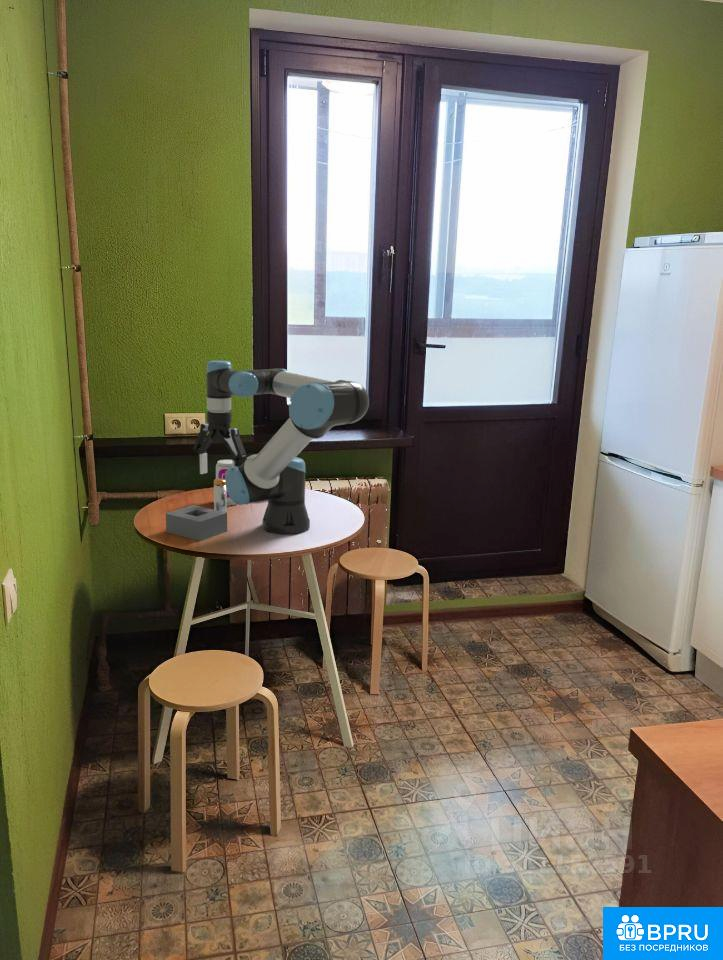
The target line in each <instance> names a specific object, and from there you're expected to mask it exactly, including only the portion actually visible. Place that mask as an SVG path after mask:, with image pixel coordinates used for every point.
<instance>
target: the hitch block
mask: <svg viewBox="0 0 723 960" xmlns="http://www.w3.org/2000/svg"><path fill="white" fill-rule="evenodd" d="M165 530H166V531H165V532H166V533H167V532H168V534H171V535H176V536H180V537H182V538H187V539H191V540H195V541H199V542H201V541H206V540H207V539H210V538H212V537H216V536H217V535H220V534H223V533H226V532H228V512H227V513H226V512H222V511H217V510H214V508H207V507H204V506H201V505H200V506H199V505H195V504H192V505H189V506H186V507H181V508H179V509H175V510H172V511H170V512H166V513H165Z"/></svg>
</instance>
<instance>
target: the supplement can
mask: <svg viewBox="0 0 723 960" xmlns="http://www.w3.org/2000/svg"><path fill="white" fill-rule="evenodd" d="M232 460H233V459H220V460H218V461H217V463H216V465H215V479H225V476H226V472H227V470H228V469H229V468H231V467H232ZM231 505H232V506H235V505H237V504H236V503H234V502H233V501H232V500H231V498H230V497H229V495H228V492H227V507H228V506H229V507H230V506H231Z"/></svg>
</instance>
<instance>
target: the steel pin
mask: <svg viewBox="0 0 723 960" xmlns="http://www.w3.org/2000/svg"><path fill="white" fill-rule="evenodd" d="M213 510H217V511H222V512H226V513H227V514H228V506H227V489H226V484H225V479H216V478H215V479H213Z"/></svg>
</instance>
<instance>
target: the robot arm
mask: <svg viewBox="0 0 723 960" xmlns="http://www.w3.org/2000/svg"><path fill="white" fill-rule="evenodd" d="M205 375H206V377H205V378H206V409H207V410H208V411H207V412H206V423H201V424H200V425H199V428H200V429H199V433H198V435H197V438H196V440H195V442H194V444H193V448H192V450H193V452H197V454H198V455H197V457H198V460H197V462H198V463H199V474H200V475H203V474H207V473H208V453H207V450H208V448H209V447H210V446H211V444H212V443H213V442H214V441H219V442H222V443H224V444H225V446H226V448H227V450H228V451H229V453H230V455H231V456H232V458H233V459H231V460H232V467H231V468H229V469H228V470H227V472H226V476H225V484H226V489H227V492H228V495H229V497H230V498H231V500H232V501H233V502H234V503H236V505H238V506H242V505H243V506H244V505H247V506H248V505H250V504H254V503H255V504H256V503H259V502H265V501H267V507H266V509H265V510H264V511H265V512H264V514H263V518H262V523H261V525H262V529H263V530H264V531H266V532H268V533H273V534H274V533H275V534H280V535H292V534H299V533H304V532H306V531H309V529H310V527H311V520H310V517H309V514H308V511H307V507H306V502H305V501H306V474H307V471H306V462H305V461H304V459H303V458H300V457H297V456H298V455H299V454H300V453H301V452H302V451H303V450H304V449H305V448H306V447H307V446H308V445H309V444H310V442H312V440H318V439H322V437H324V436H325V435H326V434H327V433H328V432H329V431H330V430H331V429H332V428H333V427H335V426H342V425H348V424H355V423H356V422H358V421H360V420H362V418H363V417H364V416H365V415H366V413H367V411H368V409H369V407H370V397H369V393H368V392H367V389H366V388H365V387H364V386H363V385H362V384H360V383H359V382H357V381H352V380H343V379H338V380H335V381H331V380H328V379H327V380H326V379H322V378H318V377H313V376H312V377H311V376H307V375H303V374H297V373H292V372H289V371H288V369H286V368H277V367H276V368H275V367H274V368H269V369H265V368H264V369H246V370H244V369H242V370H237V369H233V367H232V363H231V362H230V361H229V360H210V361H208V362H207V364H206V373H205ZM265 394H266V395H267V394H268V395H269V394H271V395H276V396H280V397H285V398H289V402H290V404H288V413H289V418H288V419H287V420H286V421H285V422H284V423H283V424H282V426H281V427H280V428H279V429H278V431H277V432H276V433H275V434H274V435H273V436H272V437H271V439H269V440H268V442H267V443H266V444H265V445H264V447H263V448H262V449H261V450H260V451H259V452H258V453H257V454H251V455H249V456H248V454H247V453H246V452H247V451H246V450H245V447H244V445H243V441H242V439H241V437H240V436H241V435H240V430H239V427H236V428H235V427H234V428H231V424H232V411H231V410H232V396H234V397H235V396H236V397H238V398H250V397H252V396H254V395H255V396H257V395H265ZM244 459H245V460H244ZM242 460H244V461H243V462H242Z"/></svg>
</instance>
